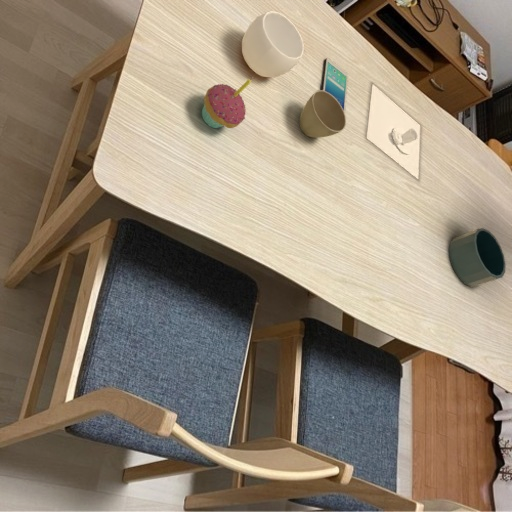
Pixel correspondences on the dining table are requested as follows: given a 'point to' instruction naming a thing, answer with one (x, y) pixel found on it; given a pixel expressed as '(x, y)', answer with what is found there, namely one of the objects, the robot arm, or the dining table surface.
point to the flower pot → (322, 115)
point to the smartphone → (335, 81)
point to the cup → (272, 45)
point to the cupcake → (224, 106)
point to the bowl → (477, 257)
